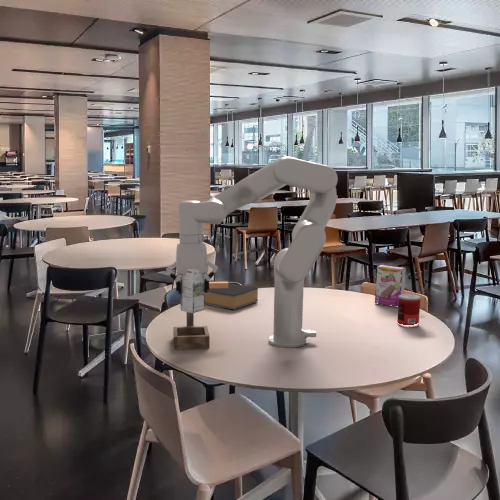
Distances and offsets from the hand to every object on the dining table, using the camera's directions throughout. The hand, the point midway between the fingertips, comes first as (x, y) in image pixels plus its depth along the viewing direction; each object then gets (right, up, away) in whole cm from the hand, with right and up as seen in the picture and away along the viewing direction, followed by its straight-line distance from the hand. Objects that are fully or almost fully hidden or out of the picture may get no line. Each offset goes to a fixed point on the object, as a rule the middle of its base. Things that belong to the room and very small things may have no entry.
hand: (192, 292), depth 186 cm
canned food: (+77, -14, +28) cm, 83 cm away
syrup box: (0, -6, +1) cm, 6 cm away
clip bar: (+4, +1, +10) cm, 10 cm away
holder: (-1, -16, +6) cm, 18 cm away
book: (+7, -9, +58) cm, 59 cm away
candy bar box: (+77, -10, +56) cm, 96 cm away
